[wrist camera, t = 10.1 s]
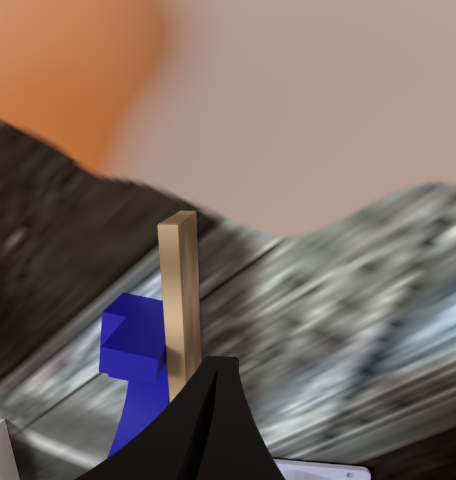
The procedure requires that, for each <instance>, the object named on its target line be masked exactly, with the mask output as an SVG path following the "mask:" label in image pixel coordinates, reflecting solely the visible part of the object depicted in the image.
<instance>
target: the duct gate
mask: <svg viewBox="0 0 456 480" xmlns="http://www.w3.org/2000/svg"><path fill="white" fill-rule="evenodd" d="M158 237H159V252H160V266H161V281H162V295H163V310H164V324H165V339H166V353H167V368H168V382H169V397H170V402H171V401H172V400H173V399H174V398H175V397H176V395H177V394H178V393H179V392H180V391H181V389H182V388H183V387H184V386H185V384H186V383H187V382H188V380H189V379H190V378H191V376H192V375H193V374H194V372H195V371H196V369H197V368H198V366H199V365H200V363H201V362H202V358H201V329H200V300H199V271H198V242H197V213H196V211H180V212H178V213H176V214H175V215H173V216H171V217H170V218H168V219H166V220H165V221H163V222H161V223H160V224H158Z"/></svg>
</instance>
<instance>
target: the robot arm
mask: <svg viewBox="0 0 456 480" xmlns="http://www.w3.org/2000/svg"><path fill="white" fill-rule="evenodd" d="M75 480H371V474H370V471H369V470H368V469H367V468H366V467H360V466H349V465H337V464H325V463H314V462H302V461H290V460H279V459H273V458H272V456H271V454H270V453H269V451H268V449H267V447H266V445H265V443H264V441H263V439H262V437H261V435H260V433H259V431H258V429H257V427H256V424H255V422H254V420H253V417H252V415H251V412H250V409H249V407H248V404H247V401H246V398H245V395H244V391H243V388H242V384H241V380H240V375H239V360H238V359H237V358H236V357H221V356H206V357H205V358H204V359H203V360H202V362H201V363H200V365H199V366H198V368H197V369H196V371H195V372H194V374H193V375H192V376H191V378H190V379H189V380H188V382H187V383H186V384H185V386H184V387H183V388H182V389H181V391H180V392H179V393H178V394H177V395H176V397H175V398H174V399H173V400H172V401H171V402H170V403H169V404H168V406H167V407H166V408H165V409H164V410H163V411H162V412H161V413H160V414H159V415H158V416H157V417H156V418H155V419H154V420H153V421H152V422H151V423H150V424H149V425H148V426H147V427H146V428H145V429H143V430H142V431H141V432H140V433H139V434H138V435H137V436H135V437H134V438H133V439H132V440H131V441H130V442H128V443H127V444H126V445H125V446H123V447H122V448H121V449H119V450H118V451H117V452H115V453H114V454H113V455H111V456H110V457H109V458H107V459H106V460H104V461H103V462H102V463H100V464H99V465H97V466H96V467H94V468H93V469H91V470H90V471H88V472H86V473H85V474H83V475H81V476H80V477H78V478H77V479H75Z"/></svg>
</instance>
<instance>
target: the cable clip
mask: <svg viewBox="0 0 456 480" xmlns="http://www.w3.org/2000/svg"><path fill="white" fill-rule="evenodd" d="M100 349H101V350H100V364H99V372H103V373H108V376H109V377H113V378H118V379H122V380H127V381H129V382H128V389H127V395H126V400H125V404H124V408H123V412H122V416H121V420H120V423H119V426H118V430H117V433H116V436H115V439H114V442H113V444H112V447H111V450H110V453H109V455H108V458H109V457H110V456H111V455H113V454H114V453H115V452H117V451H118V450H119V449H121V448H122V447H123V446H125V445H126V444H127V443H128V442H130V441H131V440H132V439H133V438H134V437H135V436H137V435H138V434H139V433H140V432H141V431H142V430H143V429H145V428H146V427H147V426H148V425H149V424H150V423H151V422H152V421H153V420H154V419H155V418H156V417H157V416H158V415H159V414H160V413H161V412H162V411H163V410H164V409H165V408H166V407H167V406H168V404H169V403H170V397H169V382H168V368H167V353H166V339H165V324H164V310H163V301H161V300H156V299H151V298H147V297H142V296H137V295H132V294H128V293H122V294H121V295H120V296H119V297H118V298H117V299H116V300H115V301H114V302H113V303H112V304H111V305H109V306H108V307H107V308H106V309H105V310H104V311H103V314H102V329H101V343H100Z"/></svg>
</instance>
